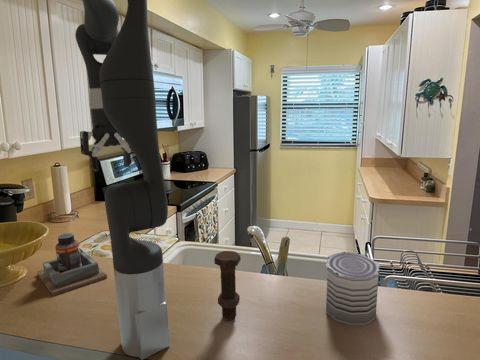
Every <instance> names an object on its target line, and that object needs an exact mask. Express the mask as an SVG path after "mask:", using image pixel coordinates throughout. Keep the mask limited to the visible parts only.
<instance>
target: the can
mask: <svg viewBox="0 0 480 360" xmlns="http://www.w3.org/2000/svg"><path fill="white" fill-rule="evenodd" d="M325 266H326V267H327V270H326V273H327V274H326V276H327V277H326V300H325V306H326V307H325V313H326V314H328V316H330V317H331V318H332V319H333V320H334V321H336V322H339V323H342V324H346V325H348V326H367V325H368V324H370V323H371V322H373V321H374V320H376V317H377V305H378V303H377V302H378V287H379V275H380V263H378V262H377V261H375V260H374V259H372V258H370V257H369V256H367V255H365V254H362V253H355V252H349V251H341V252H339V253H335V254H331V255H328V257H327V260H326V264H325Z"/></svg>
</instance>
